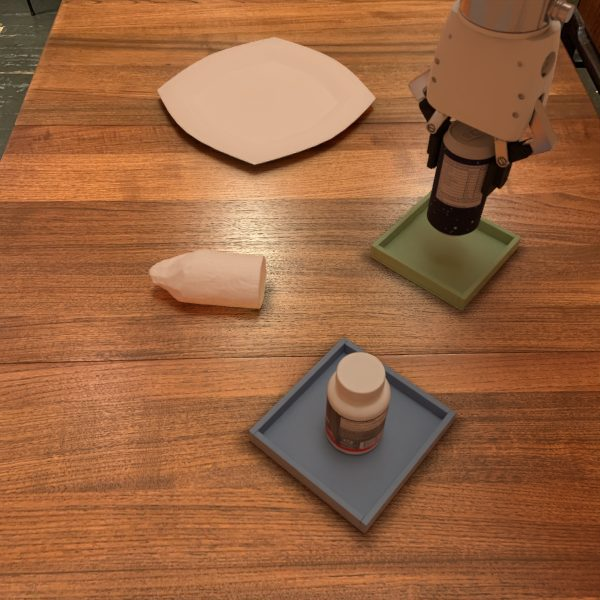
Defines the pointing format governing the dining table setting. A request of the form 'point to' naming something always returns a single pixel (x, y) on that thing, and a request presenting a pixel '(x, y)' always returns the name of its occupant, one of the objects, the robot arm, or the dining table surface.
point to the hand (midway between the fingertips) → (464, 173)
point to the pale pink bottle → (213, 278)
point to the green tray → (444, 255)
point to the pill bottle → (357, 404)
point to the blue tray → (346, 467)
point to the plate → (265, 99)
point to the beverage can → (460, 180)
